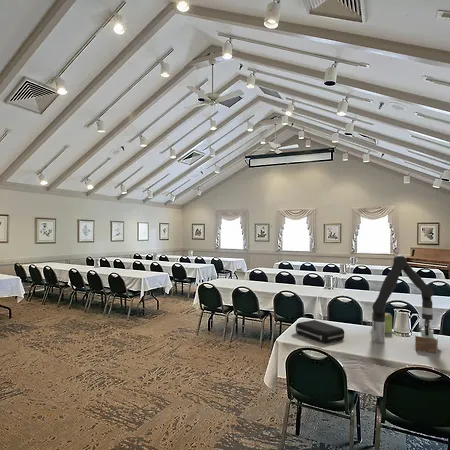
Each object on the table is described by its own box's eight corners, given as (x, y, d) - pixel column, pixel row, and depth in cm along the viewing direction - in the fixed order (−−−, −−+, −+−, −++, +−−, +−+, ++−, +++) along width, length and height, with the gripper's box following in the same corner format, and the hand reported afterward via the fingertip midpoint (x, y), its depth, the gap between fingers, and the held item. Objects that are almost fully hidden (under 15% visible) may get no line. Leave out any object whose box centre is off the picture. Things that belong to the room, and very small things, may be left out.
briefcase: (351, 339, 299) (351, 327, 299) (325, 345, 282) (325, 332, 282) (318, 328, 330) (319, 318, 330) (293, 333, 313) (293, 322, 313)
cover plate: (436, 341, 269) (436, 333, 269) (416, 337, 277) (416, 330, 277) (438, 336, 281) (438, 329, 281) (418, 333, 289) (418, 326, 289)
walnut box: (436, 353, 266) (436, 339, 266) (415, 349, 274) (415, 336, 274) (437, 347, 279) (437, 334, 279) (417, 344, 287) (417, 331, 287)
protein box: (392, 333, 318) (392, 315, 318) (374, 331, 321) (374, 314, 321) (389, 329, 328) (389, 313, 328) (371, 328, 331) (371, 312, 331)
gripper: (431, 315, 272) (431, 337, 271) (433, 312, 283) (433, 333, 283) (420, 314, 276) (420, 336, 276) (422, 310, 287) (422, 331, 287)
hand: (427, 334), depth 279 cm, fingers closed on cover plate, 4 cm apart
